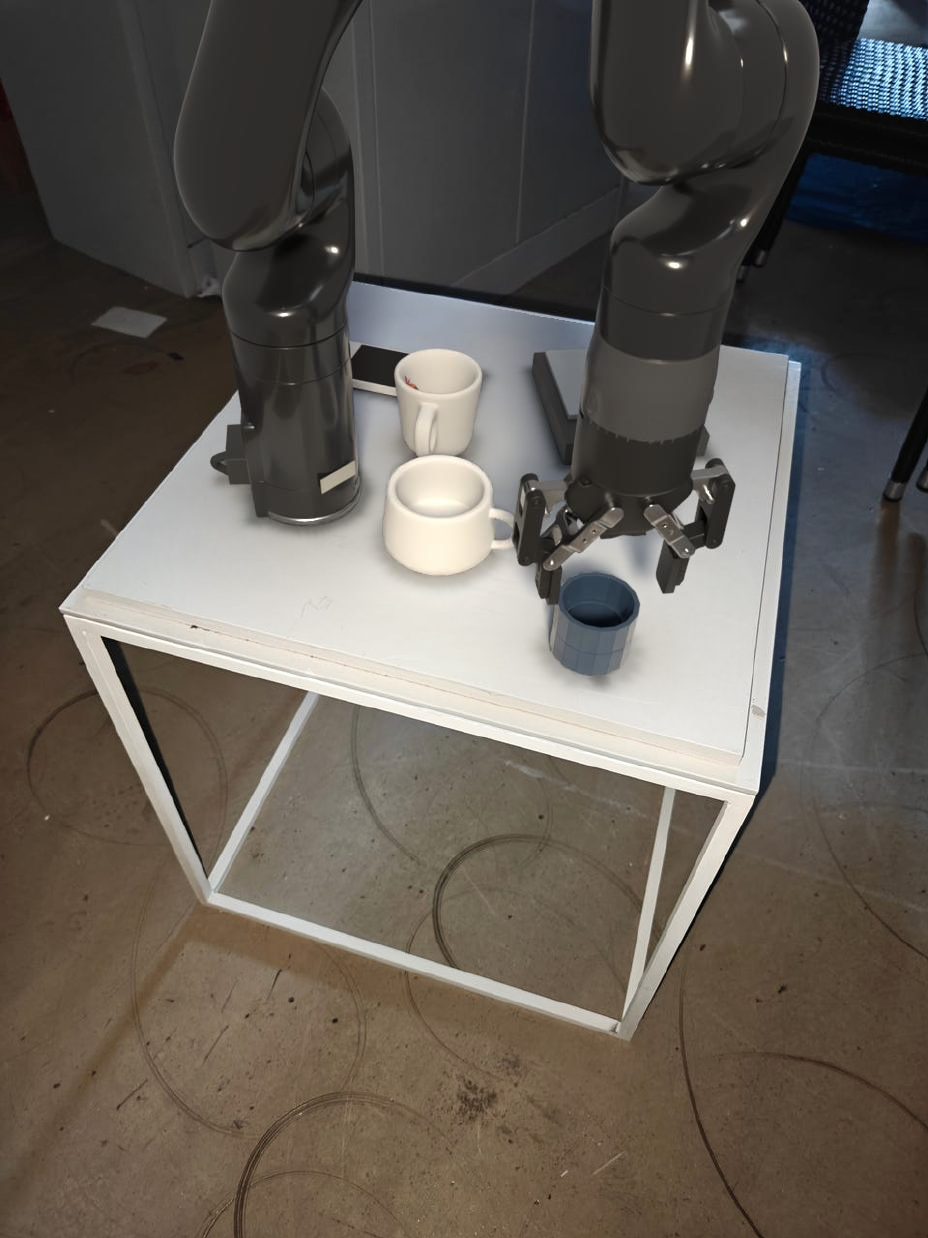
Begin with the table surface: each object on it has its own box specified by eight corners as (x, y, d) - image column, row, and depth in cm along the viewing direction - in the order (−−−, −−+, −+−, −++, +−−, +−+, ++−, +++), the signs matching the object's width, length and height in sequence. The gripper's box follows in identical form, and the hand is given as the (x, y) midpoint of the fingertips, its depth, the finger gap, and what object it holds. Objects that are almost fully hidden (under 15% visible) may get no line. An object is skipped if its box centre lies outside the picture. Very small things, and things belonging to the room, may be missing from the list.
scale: (563, 464, 85) (567, 438, 83) (531, 372, 96) (534, 346, 93) (704, 456, 87) (711, 430, 84) (657, 366, 97) (663, 341, 95)
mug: (364, 562, 75) (361, 507, 70) (407, 493, 81) (406, 439, 77) (501, 600, 72) (506, 545, 68) (534, 526, 79) (540, 471, 74)
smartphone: (345, 346, 97) (345, 338, 97) (481, 373, 95) (481, 365, 94) (319, 380, 93) (318, 372, 92) (461, 410, 90) (461, 402, 89)
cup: (463, 493, 81) (466, 420, 76) (379, 480, 82) (375, 406, 76) (485, 425, 89) (490, 353, 83) (407, 414, 89) (406, 342, 84)
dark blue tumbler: (558, 683, 67) (567, 634, 63) (542, 624, 71) (549, 574, 67) (636, 676, 68) (649, 627, 63) (616, 618, 72) (627, 569, 67)
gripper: (736, 357, 56) (684, 548, 68) (514, 371, 54) (500, 564, 66) (783, 426, 51) (718, 619, 63) (539, 445, 49) (520, 639, 61)
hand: (606, 591), depth 65 cm, fingers open, 8 cm apart
